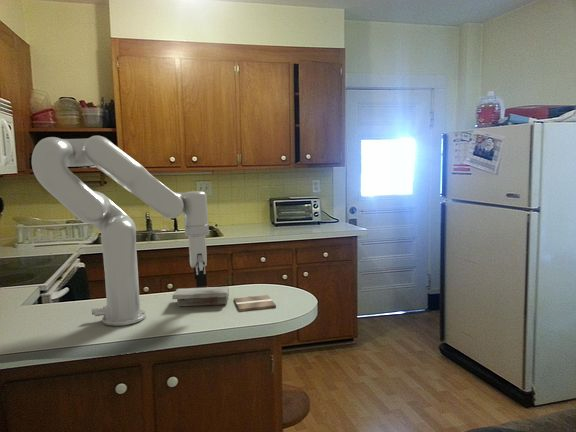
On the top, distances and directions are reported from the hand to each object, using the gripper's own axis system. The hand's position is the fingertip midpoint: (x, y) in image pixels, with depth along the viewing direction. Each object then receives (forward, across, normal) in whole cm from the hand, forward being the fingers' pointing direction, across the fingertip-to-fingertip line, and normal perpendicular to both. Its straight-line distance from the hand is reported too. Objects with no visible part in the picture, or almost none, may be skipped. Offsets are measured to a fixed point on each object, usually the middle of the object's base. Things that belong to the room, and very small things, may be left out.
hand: (200, 282), depth 143 cm
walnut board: (+9, 0, +17) cm, 20 cm away
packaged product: (+6, -1, -1) cm, 6 cm away
